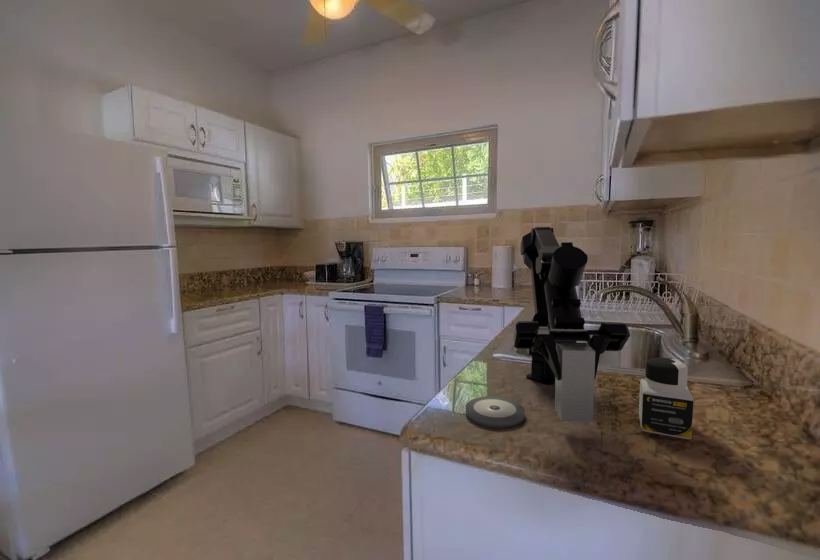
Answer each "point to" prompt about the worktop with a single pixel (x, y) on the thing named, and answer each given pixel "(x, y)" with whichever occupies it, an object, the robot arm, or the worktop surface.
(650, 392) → the medicine bottle
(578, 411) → the block
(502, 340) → the worktop surface
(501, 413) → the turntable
